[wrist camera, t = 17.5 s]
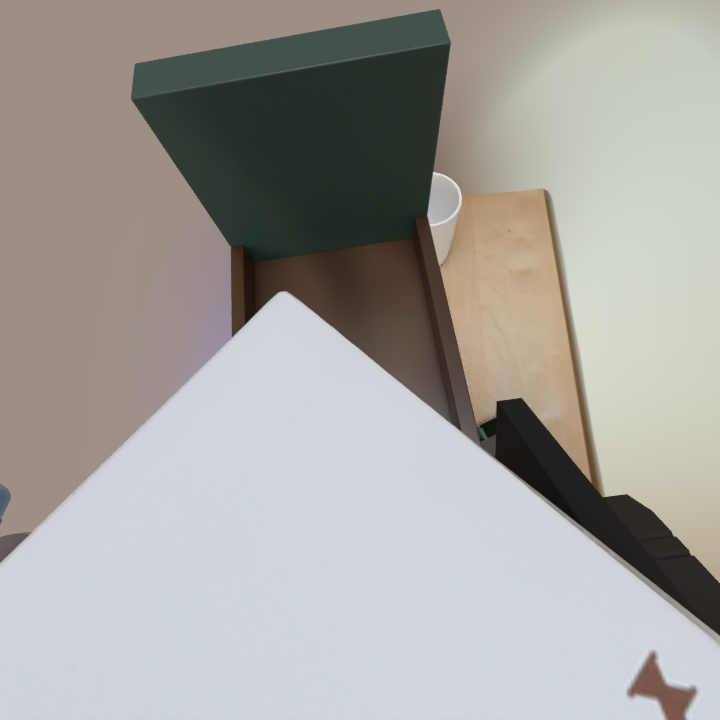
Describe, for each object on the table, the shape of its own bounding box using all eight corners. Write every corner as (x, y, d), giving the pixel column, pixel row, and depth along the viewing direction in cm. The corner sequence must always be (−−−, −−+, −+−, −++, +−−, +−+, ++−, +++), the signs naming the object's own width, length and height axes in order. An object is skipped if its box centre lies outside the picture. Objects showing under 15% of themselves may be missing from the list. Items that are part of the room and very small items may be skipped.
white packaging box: (359, 416, 17) (291, 262, 5) (490, 534, 15) (856, 721, 3) (244, 542, 16) (-201, 719, 4) (371, 691, 14) (248, 2012, 2)
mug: (450, 273, 60) (464, 225, 49) (377, 274, 61) (374, 228, 50) (447, 225, 63) (460, 170, 52) (378, 227, 64) (375, 173, 53)
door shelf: (292, 488, 28) (233, 491, 17) (281, 322, 32) (230, 247, 22) (448, 467, 27) (483, 456, 17) (415, 302, 32) (427, 215, 22)
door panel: (321, 399, 55) (99, 132, 13) (318, 368, 56) (112, 42, 15) (413, 386, 54) (489, 64, 13) (408, 354, 56) (458, -21, 14)
